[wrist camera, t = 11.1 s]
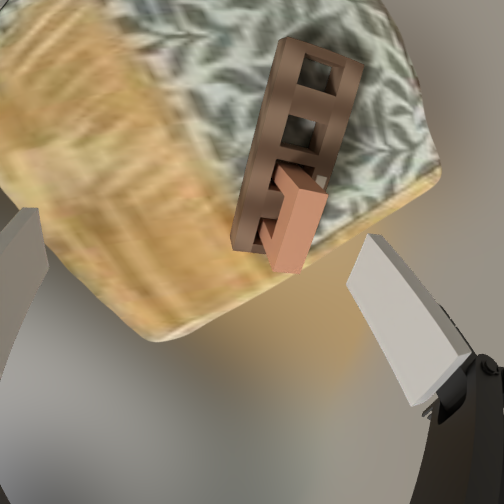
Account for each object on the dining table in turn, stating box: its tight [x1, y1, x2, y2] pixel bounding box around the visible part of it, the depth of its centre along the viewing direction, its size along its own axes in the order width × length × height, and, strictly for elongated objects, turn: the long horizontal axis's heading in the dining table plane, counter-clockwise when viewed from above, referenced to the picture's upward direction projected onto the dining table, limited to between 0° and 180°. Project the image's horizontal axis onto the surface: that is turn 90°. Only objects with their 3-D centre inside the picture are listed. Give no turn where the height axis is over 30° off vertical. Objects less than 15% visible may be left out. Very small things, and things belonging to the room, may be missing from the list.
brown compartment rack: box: [230, 37, 364, 254], centre depth 33 cm, size 25×9×4 cm, turn 166°
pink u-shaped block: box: [257, 160, 328, 274], centre depth 33 cm, size 9×3×10 cm, turn 166°
